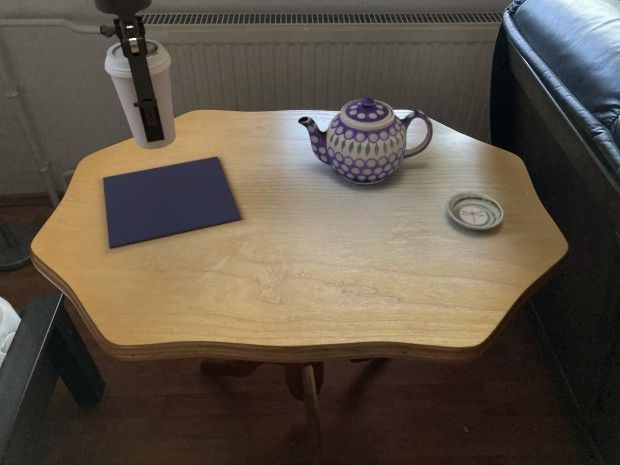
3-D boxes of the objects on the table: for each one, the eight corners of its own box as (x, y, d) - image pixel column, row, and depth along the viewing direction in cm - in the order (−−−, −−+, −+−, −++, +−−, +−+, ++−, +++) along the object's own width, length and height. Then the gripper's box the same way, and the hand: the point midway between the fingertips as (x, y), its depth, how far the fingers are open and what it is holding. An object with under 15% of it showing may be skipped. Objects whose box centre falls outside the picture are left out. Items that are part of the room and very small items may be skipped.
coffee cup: (143, 161, 80) (119, 70, 69) (115, 136, 85) (89, 48, 75) (196, 140, 84) (181, 51, 74) (166, 117, 89) (149, 31, 79)
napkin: (109, 248, 83) (109, 246, 83) (103, 179, 97) (102, 177, 97) (241, 219, 89) (241, 218, 89) (217, 157, 103) (217, 156, 102)
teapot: (420, 147, 106) (432, 79, 96) (433, 193, 95) (449, 121, 84) (298, 147, 106) (298, 78, 96) (298, 193, 94) (297, 121, 84)
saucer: (455, 240, 85) (458, 230, 84) (436, 204, 92) (438, 193, 91) (510, 235, 86) (514, 224, 85) (487, 199, 93) (490, 188, 92)
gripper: (155, -4, 62) (186, 156, 77) (139, -47, 76) (167, 95, 91) (90, 3, 60) (135, 165, 75) (85, -42, 74) (124, 102, 89)
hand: (152, 127), depth 83 cm, fingers closed on coffee cup, 7 cm apart
